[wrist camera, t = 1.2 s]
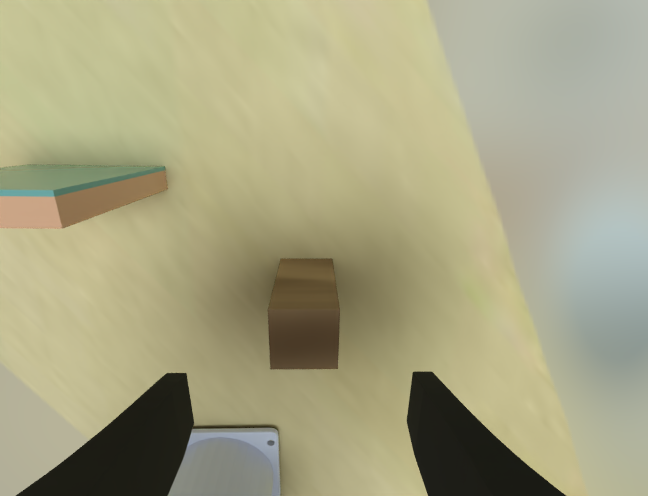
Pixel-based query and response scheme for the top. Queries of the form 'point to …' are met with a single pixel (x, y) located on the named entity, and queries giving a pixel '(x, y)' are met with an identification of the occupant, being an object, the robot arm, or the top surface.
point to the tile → (71, 192)
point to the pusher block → (304, 316)
